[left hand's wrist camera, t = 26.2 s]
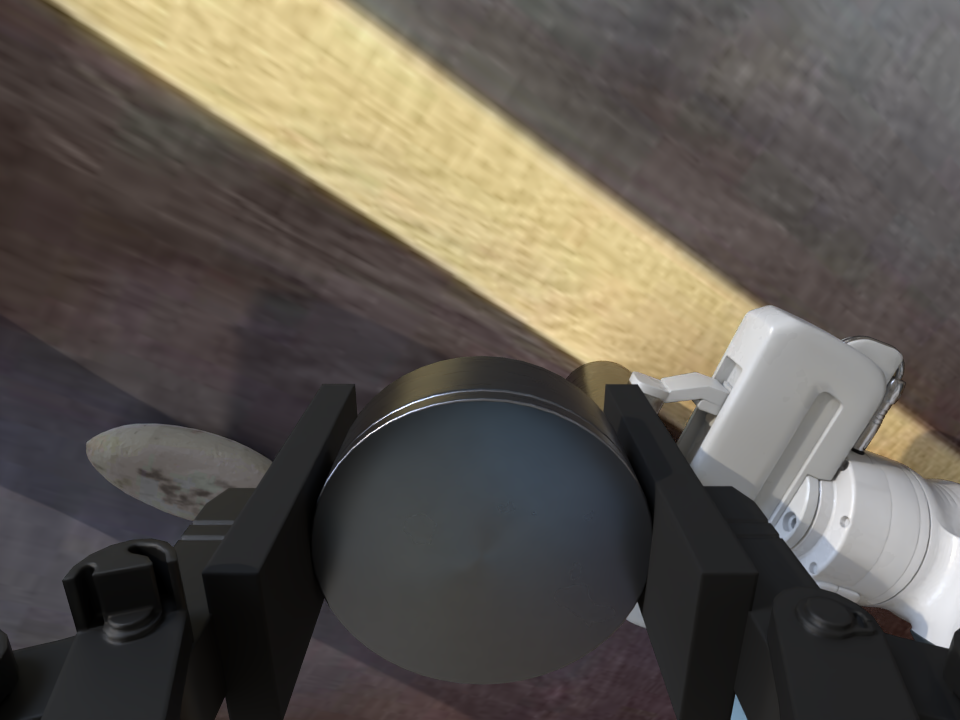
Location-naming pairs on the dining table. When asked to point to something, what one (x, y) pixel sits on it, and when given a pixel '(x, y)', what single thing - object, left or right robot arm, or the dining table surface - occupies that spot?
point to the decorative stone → (174, 465)
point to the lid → (481, 523)
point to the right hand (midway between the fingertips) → (603, 439)
